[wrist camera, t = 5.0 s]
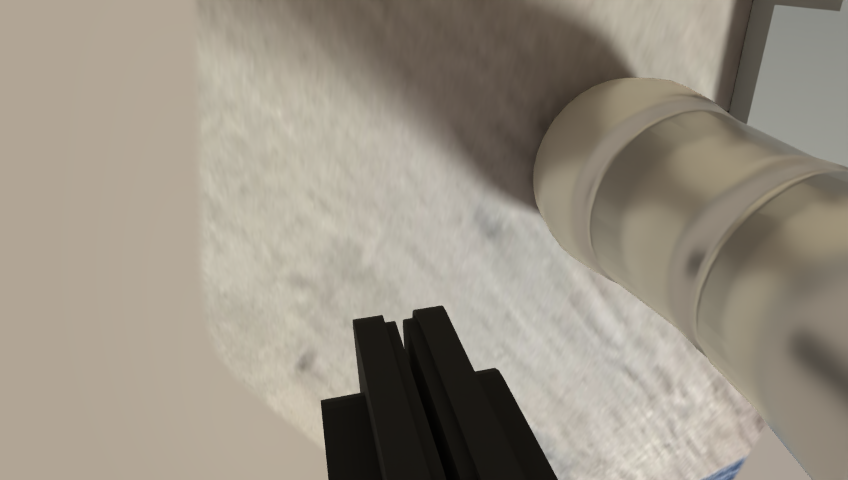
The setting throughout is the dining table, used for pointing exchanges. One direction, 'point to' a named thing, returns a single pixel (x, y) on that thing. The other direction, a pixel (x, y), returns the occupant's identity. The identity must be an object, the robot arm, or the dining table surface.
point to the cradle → (797, 75)
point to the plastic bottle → (714, 245)
